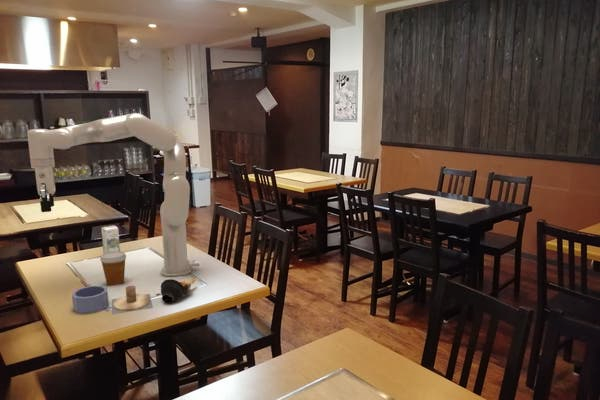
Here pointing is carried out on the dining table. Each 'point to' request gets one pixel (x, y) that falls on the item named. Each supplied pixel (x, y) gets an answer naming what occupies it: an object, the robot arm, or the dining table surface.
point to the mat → (131, 310)
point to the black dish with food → (175, 289)
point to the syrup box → (110, 239)
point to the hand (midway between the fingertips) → (48, 209)
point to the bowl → (90, 299)
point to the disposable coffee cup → (114, 267)
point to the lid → (131, 300)
